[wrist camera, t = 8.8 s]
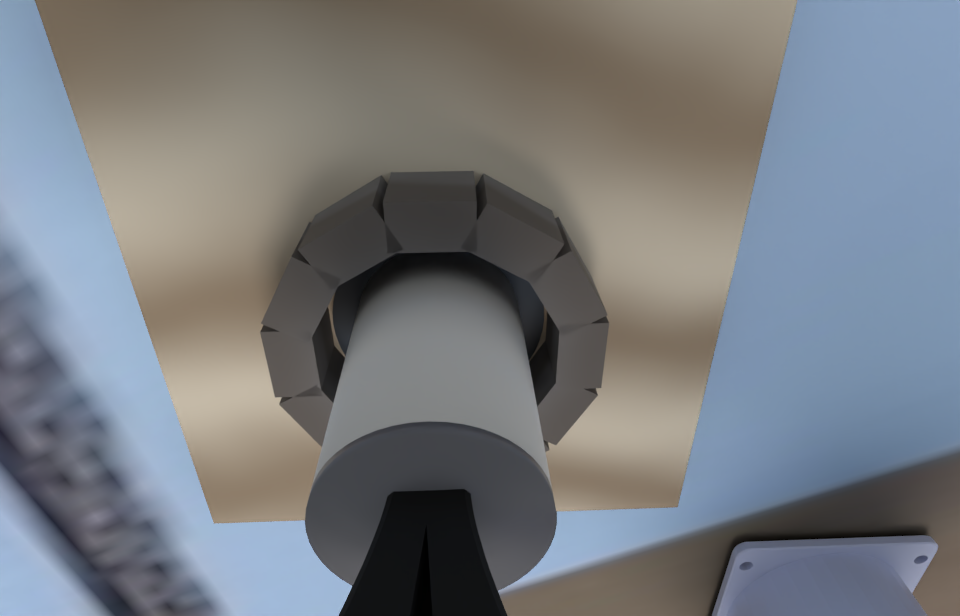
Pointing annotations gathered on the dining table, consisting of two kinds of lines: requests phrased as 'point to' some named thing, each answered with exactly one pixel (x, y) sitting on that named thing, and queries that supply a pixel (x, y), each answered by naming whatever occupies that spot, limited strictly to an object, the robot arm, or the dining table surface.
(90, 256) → the dining table surface
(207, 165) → the tan square tray
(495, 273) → the grey capped cylinder
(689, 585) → the dining table surface
